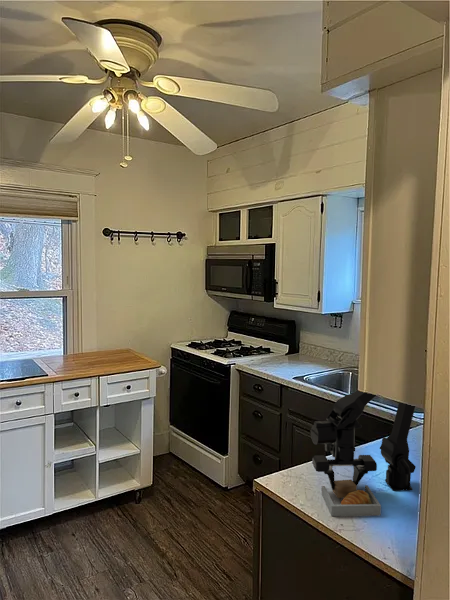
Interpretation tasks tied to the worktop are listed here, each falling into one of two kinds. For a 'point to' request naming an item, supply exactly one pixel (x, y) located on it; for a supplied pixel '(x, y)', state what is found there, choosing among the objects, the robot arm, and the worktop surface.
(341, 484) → the cardboard brown box
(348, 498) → the pastry
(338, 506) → the bay
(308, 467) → the worktop surface
